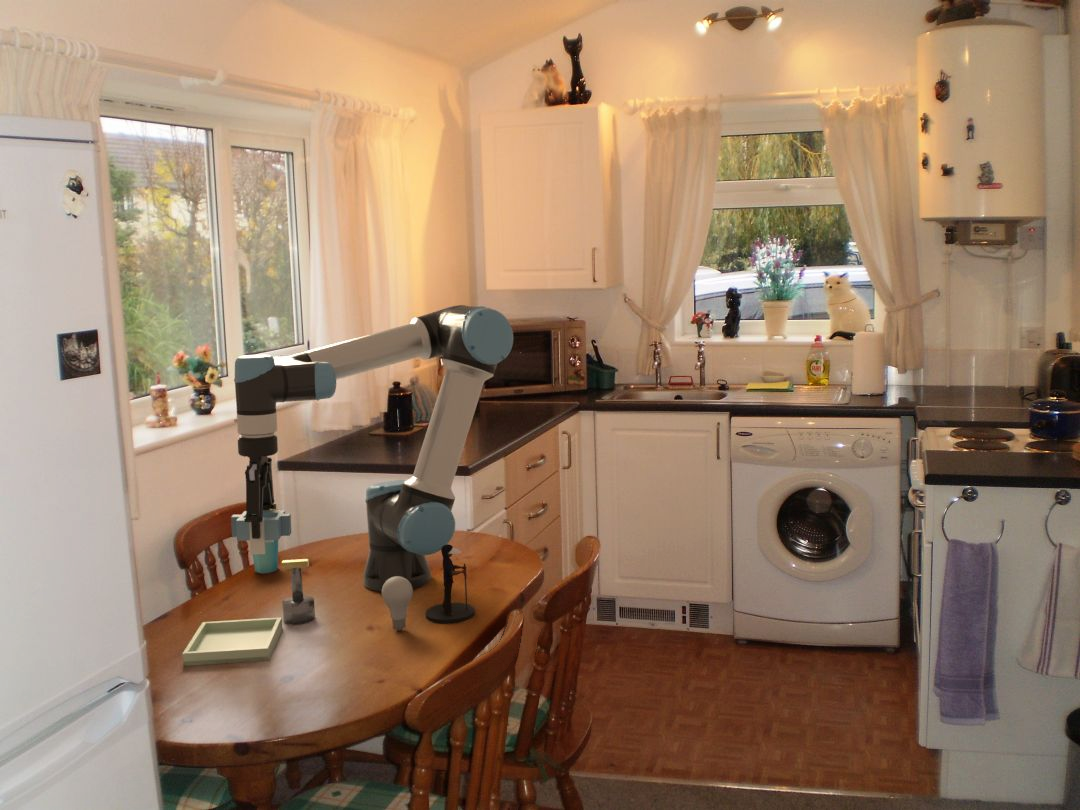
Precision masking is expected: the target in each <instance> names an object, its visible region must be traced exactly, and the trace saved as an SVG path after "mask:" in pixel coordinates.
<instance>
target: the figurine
mask: <svg viewBox="0 0 1080 810" xmlns="http://www.w3.org/2000/svg"><path fill="white" fill-rule="evenodd" d="M440 551H441V556H442V570H443V574H442V575H443V587H444V588H443V591H444V593H443V601H442V603H440V604H435V605H432V606H431V607H428V608H427V609H426V611H425V620H427V621H428V622H430V623H434V624H439V625H440V624H441V625H453V624H460V623H465V622H467V621H469V620H471V619H473V618H474V616H475V615H476V612H475V607H474V606H472V605H470V604H468V588H467V587H468V586H467V578H468V577H467V576H468V575H467V568H468V567H467V565H466V563H464V564H463V566H459V565H456V564H454V562H453V561H452V559H451V557H452V556H453V554H454V555H459V554H462V551H461V550H459V549H458V548H456V547H454V546H453V545H451V544H450V543H448V544H447V545H444V546H443V547H442V549H441V550H440ZM459 569H461V571H460V570H459ZM460 574H463V576H464V577H463V578H464V591H465V594H464V595H465V603H464V602H463V603H462V602H452V590H453V584H454V583H455V582H454V577H453V576H457V575H460Z"/></svg>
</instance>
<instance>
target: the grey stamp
mask: <svg viewBox="0 0 1080 810" xmlns="http://www.w3.org/2000/svg"><path fill="white" fill-rule="evenodd" d="M309 566H310V562H309V558H302V559H301V558H300V559H299V558H298V559H284V560H282V561H281V570H290V571H289V572H290V583H291V584H290V585H291V596H290V597H286V598H284V599H283V600H282V604H281V605H282V616H283V617H282V620H283V623H285V624H286V625H291V626H298V625H299V626H300V625H304V624H309V623H311V622H314V620H315V619H316V608H315V598H314V597H313V596H310V595H305V594H304V588H303V576H302V575H303V572H302V569H308V568H309Z"/></svg>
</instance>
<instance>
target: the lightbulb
mask: <svg viewBox="0 0 1080 810" xmlns="http://www.w3.org/2000/svg"><path fill="white" fill-rule="evenodd" d="M413 593H414V589H413V588H412V585H411V583H410V582H409V581H408V580H407V579H405V578H404V577H400V576H395V577H392V578H390V579H388V580H387V581H386V582H385V583H384V585H383V587H382V591H381V598H382V600H383V601H384V603H385V604H386V606H387V608H388V610H389V613H390V618H391V621H392V628H393V629H394V630H396V631H402V630H403V629H405V628H406V624H407V623H406V622H407V621H406V620H407V616H408V614H407V613H408V606H409V605H410V602H411V600H412V598H413Z"/></svg>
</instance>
